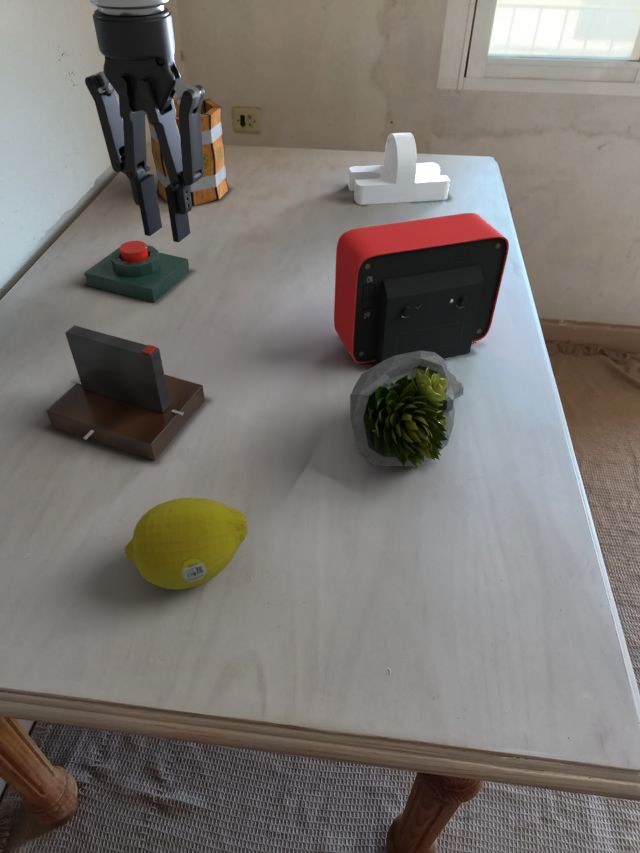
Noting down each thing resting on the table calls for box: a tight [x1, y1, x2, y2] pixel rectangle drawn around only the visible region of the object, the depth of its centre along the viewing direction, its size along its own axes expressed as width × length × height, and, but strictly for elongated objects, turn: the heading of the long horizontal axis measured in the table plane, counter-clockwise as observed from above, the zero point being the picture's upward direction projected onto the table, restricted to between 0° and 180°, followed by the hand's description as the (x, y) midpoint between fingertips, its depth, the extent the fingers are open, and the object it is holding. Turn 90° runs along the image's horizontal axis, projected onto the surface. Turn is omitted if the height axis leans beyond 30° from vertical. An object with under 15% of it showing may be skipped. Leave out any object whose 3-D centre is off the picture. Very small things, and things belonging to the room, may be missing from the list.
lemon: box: [124, 497, 248, 591], centre depth 56 cm, size 11×8×8 cm
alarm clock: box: [333, 212, 510, 366], centre depth 80 cm, size 10×20×16 cm, turn 108°
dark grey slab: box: [64, 325, 170, 413], centre depth 70 cm, size 11×2×8 cm, turn 68°
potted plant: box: [349, 350, 464, 470], centre depth 66 cm, size 12×13×15 cm
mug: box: [145, 97, 230, 206], centre depth 119 cm, size 20×14×15 cm
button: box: [118, 240, 149, 263], centre depth 94 cm, size 4×4×2 cm
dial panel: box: [45, 359, 206, 461], centre depth 74 cm, size 15×15×3 cm
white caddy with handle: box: [347, 132, 451, 206], centre depth 119 cm, size 10×18×11 cm, turn 99°
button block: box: [83, 244, 190, 303], centre depth 96 cm, size 12×10×4 cm
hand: (167, 233), depth 77 cm, fingers open, 3 cm apart
